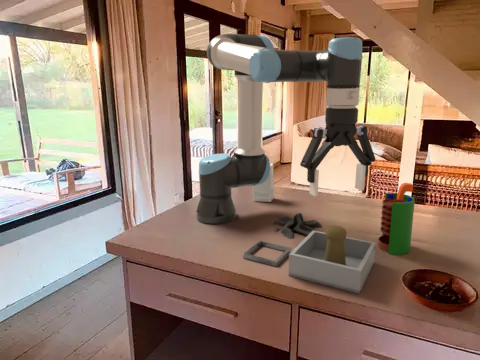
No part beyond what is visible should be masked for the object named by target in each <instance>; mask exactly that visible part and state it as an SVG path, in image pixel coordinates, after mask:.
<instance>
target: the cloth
mask: <svg viewBox="0 0 480 360" xmlns="http://www.w3.org/2000/svg"><path fill="white" fill-rule="evenodd" d="M271 225H275V226H280V227H274V232H275V233H279V232H280V231H281V234H282V235H283V237H285V238H287V239H289V240H294V238H295V235H294V233H298V234H301V235H303V236H305V238H306V237H307V236H308V235H309V234H310V233H311V232H312V231H313V230H314V231H318V230H317V229H315V228H318V229H322V228H323V226H322V224H321V223H320V222H319V221H318V220H316V219H311V220H304V216H303V214H302V213H301V212H298V213H296V214H295V215H294V216H293V217H291V216H286V215H285V216H281V217H278V218H276V219H274V220H273V221H272V222H271ZM281 227H282V228H281Z"/></svg>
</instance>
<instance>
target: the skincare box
mask: <svg viewBox="0 0 480 360" xmlns="http://www.w3.org/2000/svg"><path fill="white" fill-rule="evenodd" d="M251 187H252V201H253V202H262V203H263V202H264V203H271V202H272V201H273V200H274V198H275V180H274V163H270V174H269V177H268V179H267V180H266V181H265V182H264V183H262V184H258V185H255V186H251Z"/></svg>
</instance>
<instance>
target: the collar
mask: <svg viewBox="0 0 480 360" xmlns="http://www.w3.org/2000/svg"><path fill="white" fill-rule="evenodd" d="M261 247H265V248H269V249H274V250H278V251H282V252H283V253H281V255H280V256H278V257H277V258H276V259H270V258H266V257H261V256H258V255H253V253H254V252H255V251H257V250H258V249H259V248H261ZM292 249H293V248H292V247H290V246H285V245H281V244H276V243H271V242H268V241H263V240H259V241H258V242H257V243H254V245H252V246H251V247H250V248H249V249H248V250H246V251H245V252H244V253H243V254H242V258H243V259H246V260H249V261H253V262H257V263H261V264H266V265H269V266H273V267H278V266H279V265H280V264H281V263H282V262H283V261H284V260H285V258H287V257H289V254H290V253H291V252H292V251H293V250H292Z"/></svg>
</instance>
